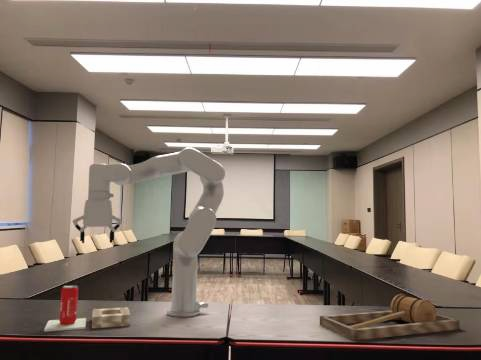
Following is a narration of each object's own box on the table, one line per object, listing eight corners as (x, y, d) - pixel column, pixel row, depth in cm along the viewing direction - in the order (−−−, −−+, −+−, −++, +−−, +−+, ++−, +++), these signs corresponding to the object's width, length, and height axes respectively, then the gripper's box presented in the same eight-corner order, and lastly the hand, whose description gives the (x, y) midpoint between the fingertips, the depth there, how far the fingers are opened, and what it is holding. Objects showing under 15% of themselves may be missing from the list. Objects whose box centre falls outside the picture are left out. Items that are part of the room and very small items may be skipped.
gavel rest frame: (416, 316, 149) (416, 308, 149) (459, 329, 131) (459, 320, 131) (319, 324, 133) (319, 316, 133) (354, 340, 115) (354, 330, 115)
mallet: (331, 341, 129) (328, 311, 130) (411, 317, 144) (407, 291, 145) (356, 352, 118) (352, 320, 118) (439, 325, 133) (435, 297, 134)
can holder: (127, 317, 137) (127, 307, 138) (130, 325, 126) (130, 314, 127) (92, 319, 133) (92, 309, 133) (91, 328, 122) (92, 317, 122)
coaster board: (86, 319, 132) (86, 318, 132) (85, 328, 121) (85, 326, 121) (48, 322, 128) (48, 320, 128) (43, 331, 117) (44, 329, 117)
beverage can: (69, 325, 122) (72, 288, 123) (55, 324, 123) (58, 287, 124) (79, 321, 127) (81, 285, 128) (65, 320, 128) (68, 284, 129)
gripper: (121, 197, 147) (120, 241, 145) (73, 196, 140) (71, 242, 139) (123, 196, 140) (122, 242, 138) (73, 195, 134) (71, 244, 132)
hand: (97, 242), depth 138 cm, fingers open, 9 cm apart
